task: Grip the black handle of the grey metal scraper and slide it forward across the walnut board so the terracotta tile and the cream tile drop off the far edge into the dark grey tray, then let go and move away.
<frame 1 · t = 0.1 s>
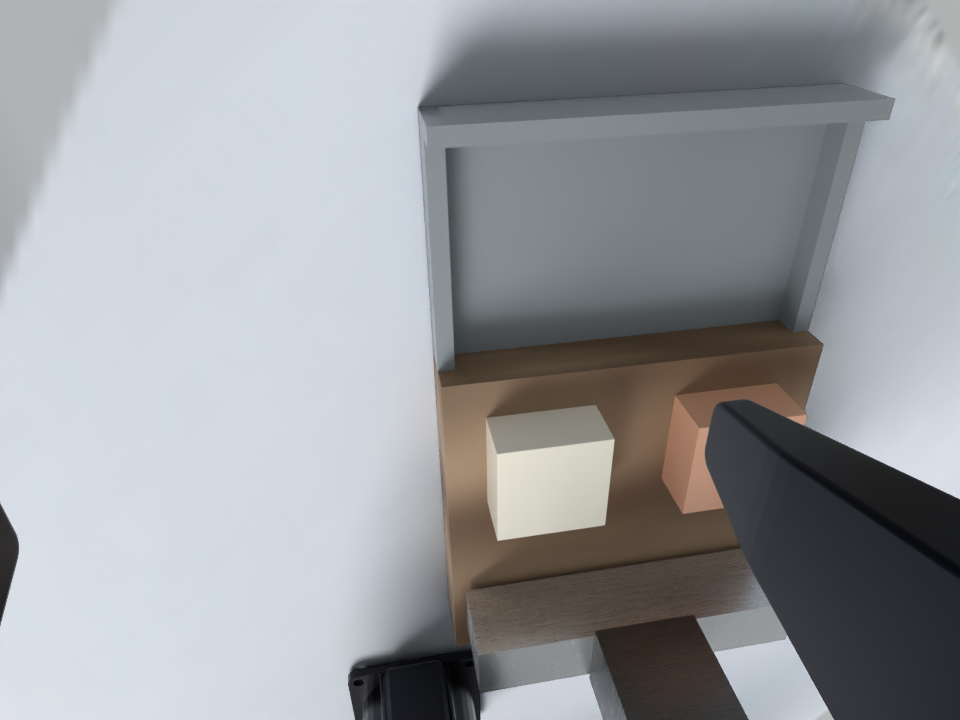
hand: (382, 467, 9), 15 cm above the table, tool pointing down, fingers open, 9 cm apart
scraper: (652, 675, 26), point 7 cm above the table, slide at 0.0 cm
tile terracotta: (717, 432, 26), point 2 cm above the table, touching board
board: (601, 470, 30), on the table
tile cream: (539, 454, 25), point 2 cm above the table, touching board
tray: (626, 223, 24), on the table
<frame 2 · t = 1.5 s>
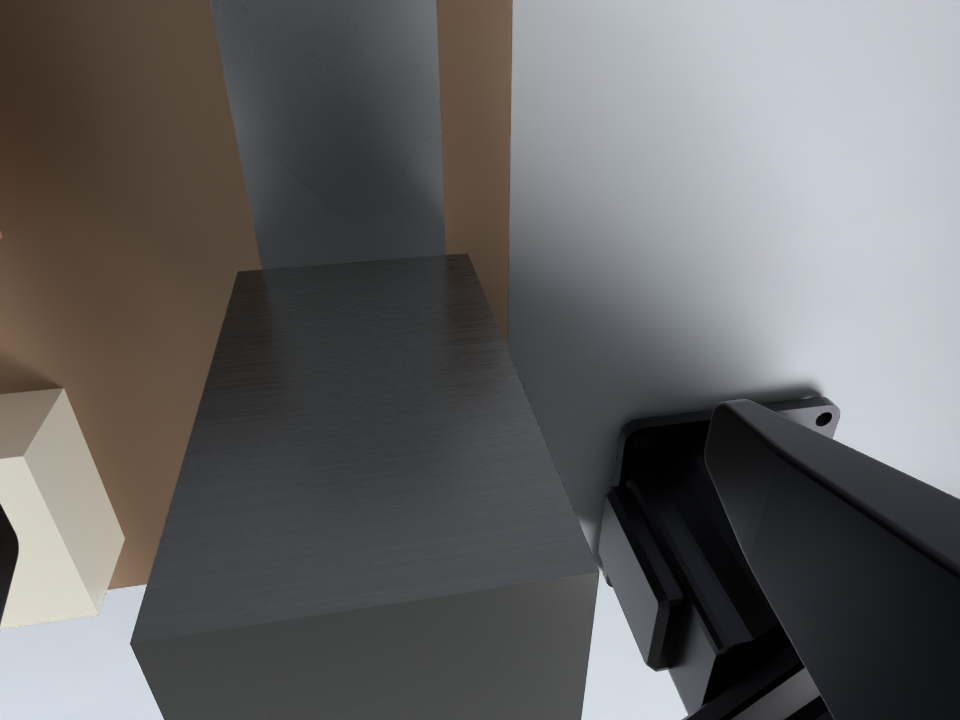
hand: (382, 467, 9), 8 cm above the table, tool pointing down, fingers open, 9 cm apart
scraper: (373, 439, 9), point 7 cm above the table, slide at 0.0 cm
board: (156, 254, 14), on the table
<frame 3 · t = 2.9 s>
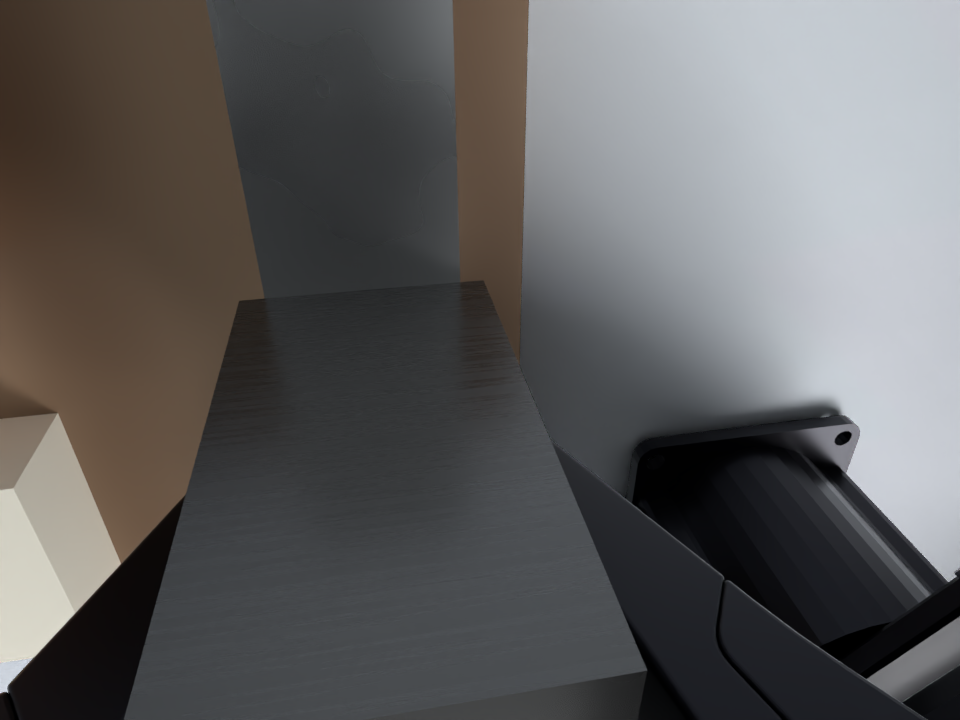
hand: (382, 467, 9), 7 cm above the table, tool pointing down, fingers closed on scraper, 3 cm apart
scraper: (383, 479, 8), point 7 cm above the table, slide at 0.0 cm, touching gripper
board: (155, 272, 14), on the table
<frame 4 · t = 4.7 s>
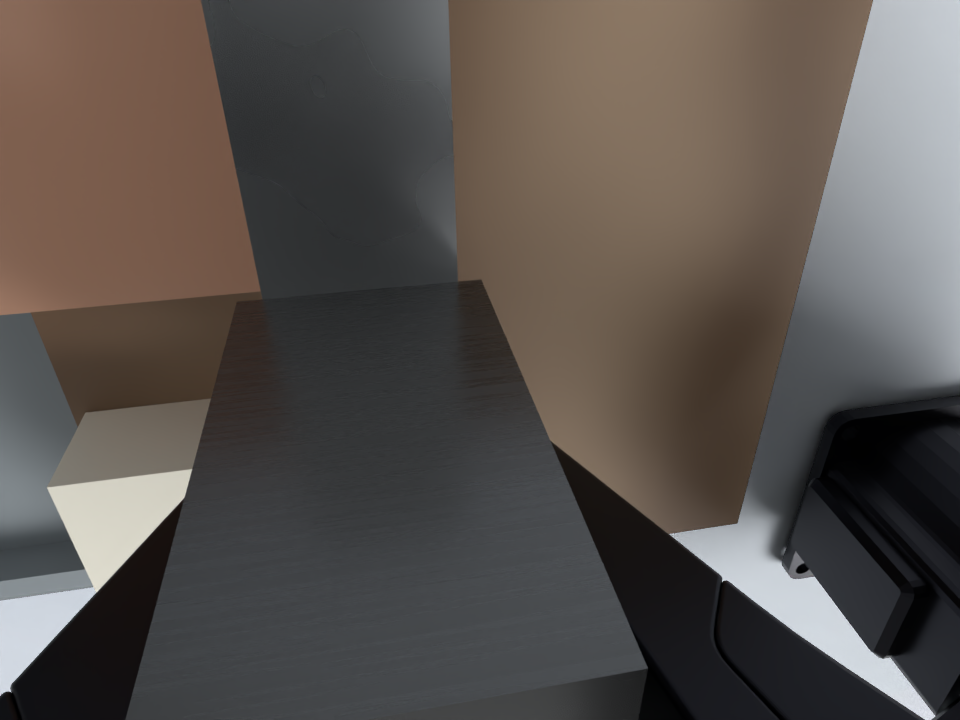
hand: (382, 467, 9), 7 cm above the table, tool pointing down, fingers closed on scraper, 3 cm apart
scraper: (382, 479, 8), point 7 cm above the table, slide at 5.8 cm, touching gripper, tile cream, tile terracotta
tile terracotta: (121, 119, 10), point 3 cm above the table, touching scraper
board: (436, 249, 15), on the table
tile cream: (224, 481, 14), point 3 cm above the table, touching scraper
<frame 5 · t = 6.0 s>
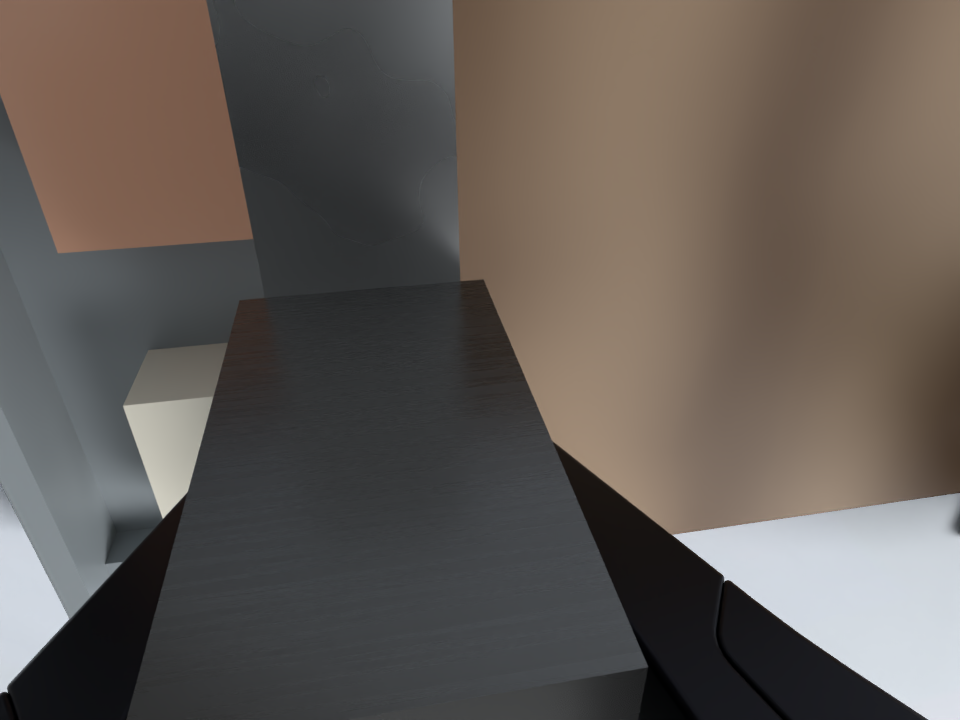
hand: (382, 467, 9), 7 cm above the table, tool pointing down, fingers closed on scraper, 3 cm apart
scraper: (383, 478, 8), point 7 cm above the table, slide at 12.5 cm, touching gripper
tile terracotta: (183, 90, 12), resting on tray
board: (732, 226, 16), on the table
tile cream: (265, 416, 15), resting on tray
tray: (221, 266, 14), on the table
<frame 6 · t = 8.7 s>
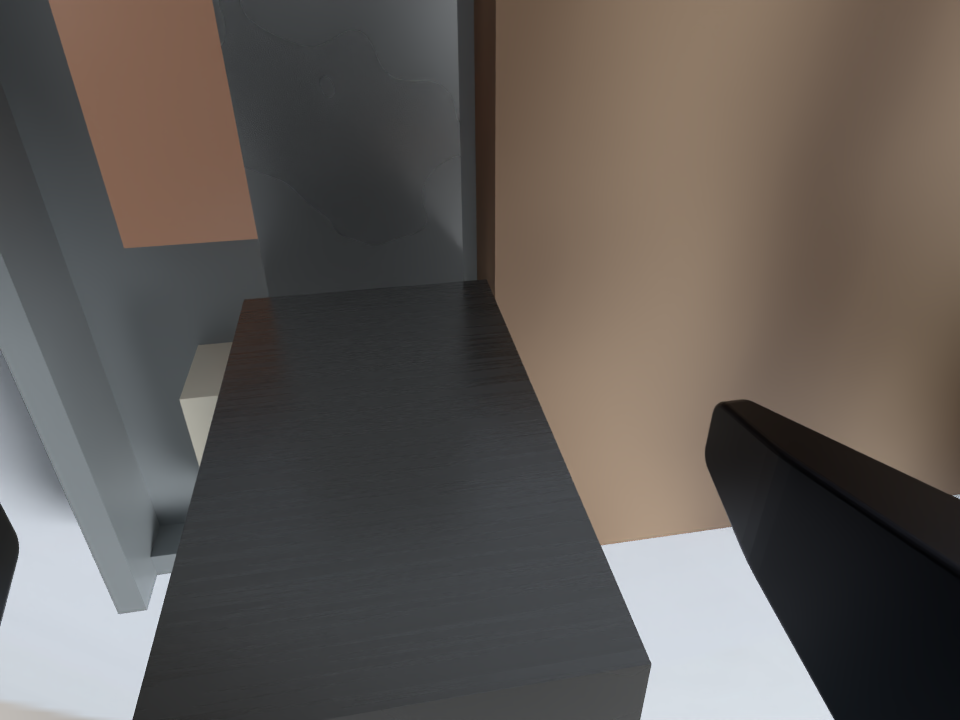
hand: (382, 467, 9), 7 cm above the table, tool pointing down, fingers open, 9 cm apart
scraper: (387, 477, 8), point 7 cm above the table, slide at 13.5 cm
tile terracotta: (243, 88, 12), resting on tray
board: (772, 224, 16), on the table
tile cream: (309, 411, 16), resting on tray
tray: (270, 263, 14), on the table
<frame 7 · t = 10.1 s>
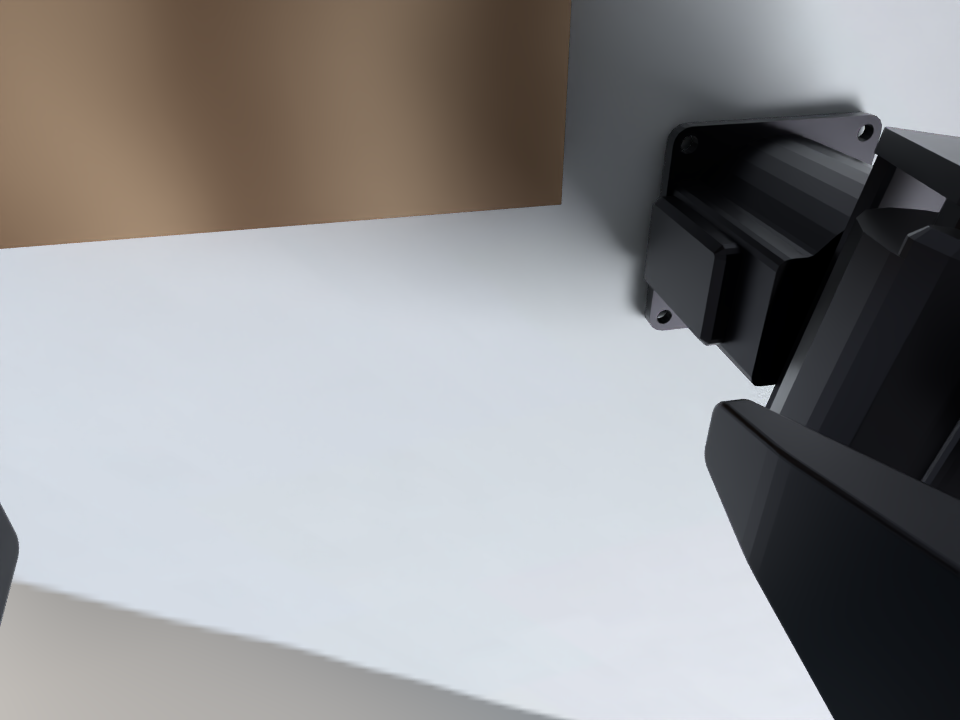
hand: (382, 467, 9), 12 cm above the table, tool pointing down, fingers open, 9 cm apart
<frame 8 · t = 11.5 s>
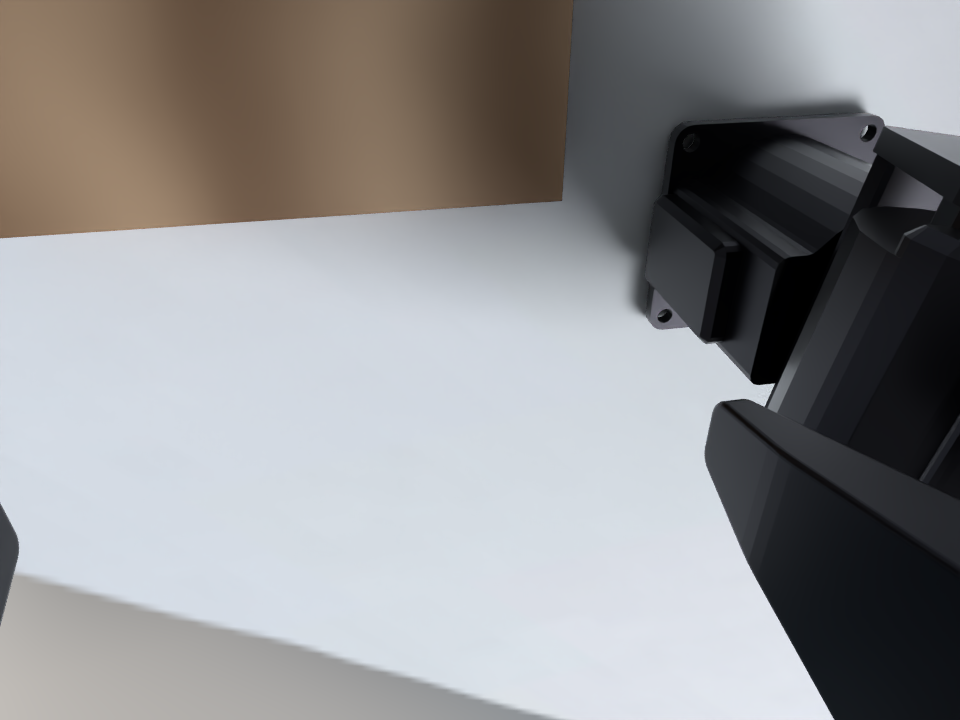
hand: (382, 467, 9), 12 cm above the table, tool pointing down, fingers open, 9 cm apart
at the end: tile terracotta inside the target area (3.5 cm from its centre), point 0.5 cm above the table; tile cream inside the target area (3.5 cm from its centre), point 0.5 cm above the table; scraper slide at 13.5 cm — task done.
